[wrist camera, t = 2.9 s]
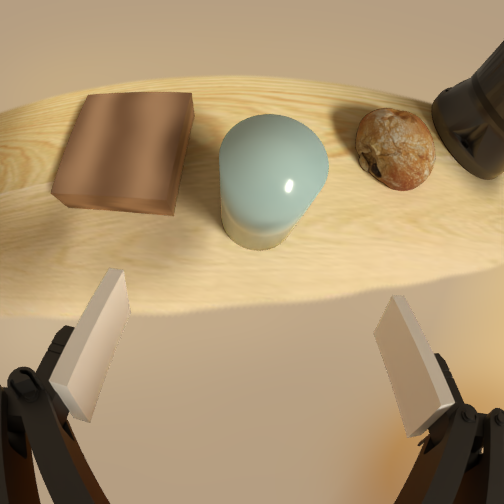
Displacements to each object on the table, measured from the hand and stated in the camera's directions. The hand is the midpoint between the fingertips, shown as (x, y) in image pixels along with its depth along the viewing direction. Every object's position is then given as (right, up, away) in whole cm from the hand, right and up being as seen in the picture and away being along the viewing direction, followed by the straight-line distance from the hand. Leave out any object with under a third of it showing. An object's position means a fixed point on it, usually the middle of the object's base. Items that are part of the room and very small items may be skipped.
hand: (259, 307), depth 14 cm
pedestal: (-13, +12, +15) cm, 24 cm away
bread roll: (+16, +14, +19) cm, 28 cm away
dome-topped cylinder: (0, +6, +15) cm, 16 cm away
